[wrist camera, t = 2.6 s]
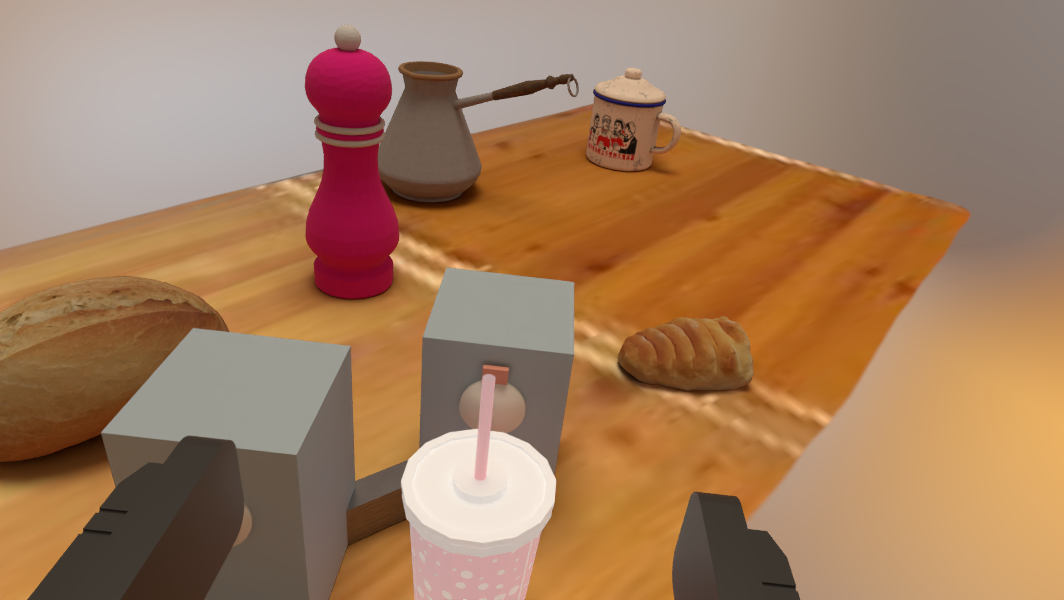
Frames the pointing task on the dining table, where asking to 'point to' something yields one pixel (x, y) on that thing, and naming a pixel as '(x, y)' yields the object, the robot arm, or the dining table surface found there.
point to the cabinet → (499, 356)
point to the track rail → (376, 503)
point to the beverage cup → (476, 511)
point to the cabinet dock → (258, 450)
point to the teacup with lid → (627, 123)
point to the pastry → (690, 355)
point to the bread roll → (85, 356)
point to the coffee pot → (438, 132)
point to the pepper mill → (350, 171)
